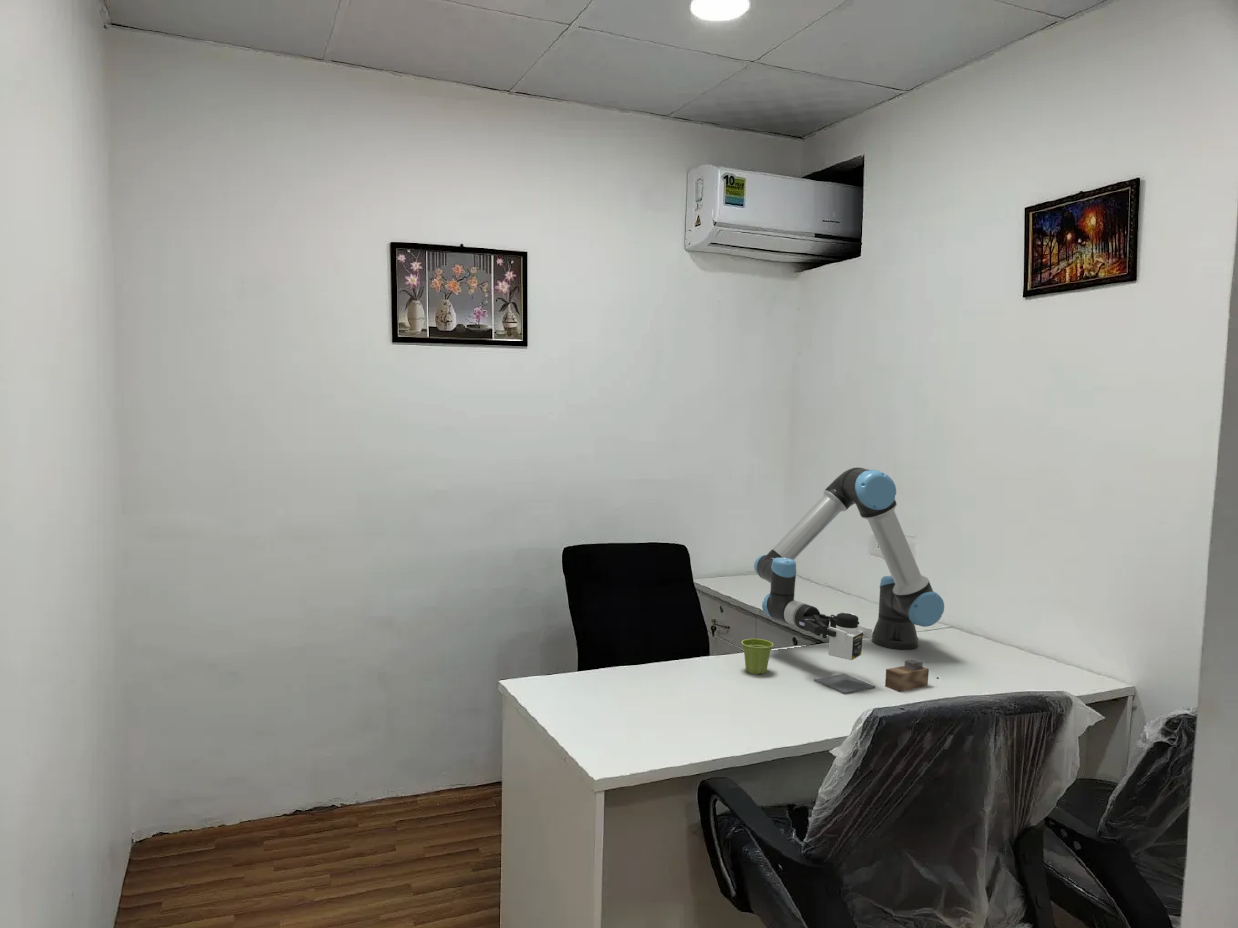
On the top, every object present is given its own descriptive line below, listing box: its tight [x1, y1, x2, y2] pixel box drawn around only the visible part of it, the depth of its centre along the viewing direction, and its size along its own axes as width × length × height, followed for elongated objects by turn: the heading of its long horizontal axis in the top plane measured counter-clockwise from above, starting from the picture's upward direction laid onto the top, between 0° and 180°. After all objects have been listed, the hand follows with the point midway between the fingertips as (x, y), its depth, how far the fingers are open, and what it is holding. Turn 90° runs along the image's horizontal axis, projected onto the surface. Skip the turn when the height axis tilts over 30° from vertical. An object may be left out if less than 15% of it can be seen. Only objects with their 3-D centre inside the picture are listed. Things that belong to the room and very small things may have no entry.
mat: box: [813, 673, 876, 695], centre depth 241 cm, size 12×12×1 cm
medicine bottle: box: [828, 612, 864, 661], centre depth 240 cm, size 7×7×12 cm
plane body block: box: [884, 658, 930, 693], centre depth 241 cm, size 12×5×7 cm, turn 120°
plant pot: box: [741, 638, 774, 675], centre depth 249 cm, size 9×9×9 cm
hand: (858, 635), depth 236 cm, fingers closed on medicine bottle, 9 cm apart
